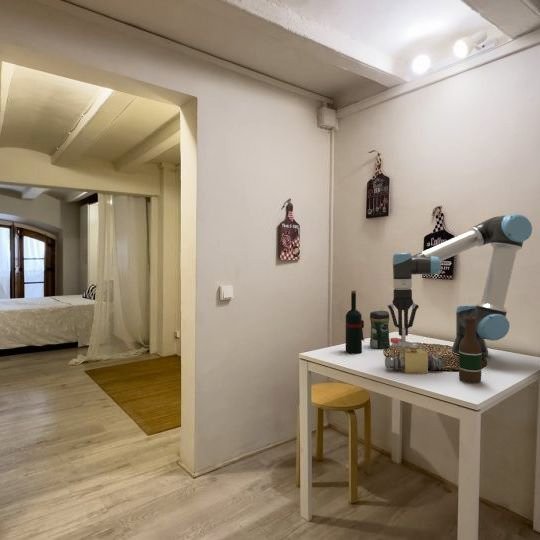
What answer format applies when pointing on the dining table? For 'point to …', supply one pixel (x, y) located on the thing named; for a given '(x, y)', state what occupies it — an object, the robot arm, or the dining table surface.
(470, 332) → the beer bottle
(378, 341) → the coffee jar
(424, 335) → the dining table surface
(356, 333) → the wine bottle
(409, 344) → the lever
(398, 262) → the robot arm
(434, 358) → the pipe
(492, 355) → the dining table surface
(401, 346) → the pipe connector
